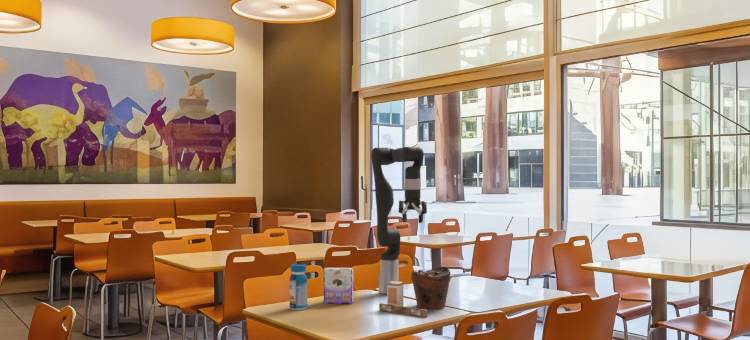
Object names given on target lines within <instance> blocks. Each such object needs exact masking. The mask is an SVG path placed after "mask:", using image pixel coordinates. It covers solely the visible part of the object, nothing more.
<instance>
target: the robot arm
mask: <svg viewBox="0 0 750 340" xmlns="http://www.w3.org/2000/svg"><path fill="white" fill-rule="evenodd" d="M424 155H425V153H424V150H423V148H422V147H420V146H403V147H399V148H395V149H394V148H390V147H374V148H372V150H371V155H370V156H371V158H370V159H371V166H372V171H373V178H374V179H373V180H374V190H375V191H374V195H375V203H376V204H375V205H376V216H377V217H376V222H377V223H376V224H377V225H376V238H377V243H378V245H379V246H380V247H383V248H384V247H387V249H386V250H385V251H384V252H382V253H380V273H379V274H378V293H379V294H382V295H387V283H388V282H392V281H397V282H399V257H400V254H401V253H400V252H401V232H400V231H399V230H398V229H397V228H395V227H389V228H388V219H389V215H390V213H391V211H392V209H393V206H394V204H395V203H394V190H393V187H392V186H391V184H390V182H389V181H388V179H387V178H386V176H385V175H384V173H383V168H382V166H389V165H392V164H395V163H406V162H413V164H412V165H410V166H407V167H406V168H405V170H404V171H405V174H404V176H405V177H404V200H403V199H402V200H399V201H398V213H399V214H401V218H402V222H403V223H407V221H408V219H407V218H408V212H409V211H411V210H413V211H416V212H417V214H418V224H423V222H424V215H425V214H427V213H428V210H427V209H428V207H427V201H426V200H423V201H421V168H422V163H423V161H424ZM404 205H405V206H404Z"/></svg>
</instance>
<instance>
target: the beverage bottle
mask: <svg viewBox="0 0 750 340" xmlns="http://www.w3.org/2000/svg"><path fill="white" fill-rule="evenodd" d="M306 265H307V264H305V263H293V264H291V266H290V271H291V273H292V274H290V276H289V285H288V287H289V309H290V310H293V311H304V310H306V309H308V287H309V283H308V276H307V275H306V273H305V272H306V271H307V266H306Z"/></svg>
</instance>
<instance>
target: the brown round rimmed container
mask: <svg viewBox="0 0 750 340" xmlns="http://www.w3.org/2000/svg"><path fill="white" fill-rule="evenodd" d="M410 280H412V285H413V286H412V287H413V291H414V297H415V301H416V307H417V308H418V309H425V310H436V309H444V308H445V306H446V303H447V297H448V294H449V293H448V292H449V287H450V282H451V271H450V269H449V267H446V266H440V267H437V268H432V269H429V270H428V269H427V270H425V269H424V270H423V269H420V270H418V271H416V270H412V271H411V275H410Z"/></svg>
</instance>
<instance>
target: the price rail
mask: <svg viewBox="0 0 750 340" xmlns="http://www.w3.org/2000/svg"><path fill="white" fill-rule="evenodd" d="M378 305H379V306H378V307H379V312H388V313H393V314H401V315H409V316H416V317H422V318H428V310H429V309H425V308H419V307H411V306H410V307H409V306H404V305H403V306H396V305H388V304H387V303H379V304H378Z"/></svg>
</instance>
